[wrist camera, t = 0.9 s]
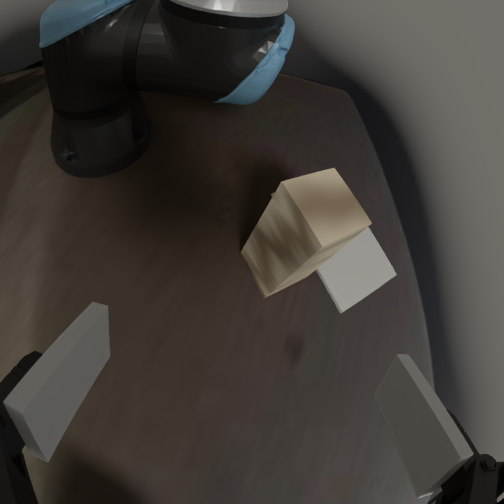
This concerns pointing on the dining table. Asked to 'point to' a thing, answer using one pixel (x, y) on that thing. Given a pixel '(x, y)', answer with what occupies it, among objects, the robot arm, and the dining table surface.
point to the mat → (355, 270)
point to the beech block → (302, 230)
